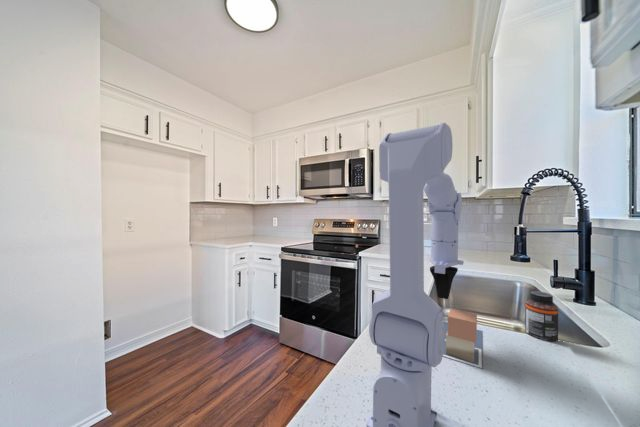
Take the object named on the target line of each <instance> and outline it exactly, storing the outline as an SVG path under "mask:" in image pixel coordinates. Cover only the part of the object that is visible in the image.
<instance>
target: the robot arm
mask: <svg viewBox="0 0 640 427" xmlns="http://www.w3.org/2000/svg"><path fill="white" fill-rule="evenodd" d="M453 145H454V144H453V134H452V128H451V127H450V125H449V124H447V123H446V122H441V123H439V124H435V125H431V126H430V125H429V126H424V127H420V128H415V129H408V130H405V131H399V132H394V133H391V132H389V133H386V134H385V135H384V136H383V138H382V140H380V142H379V145H378V146H379V147H378V155H379V156H378V160H379V162H378V164H379V165H378V166H379V167H378V168H379V178H380V180H381V181H384V182H386V183H387V184H388V228H389V230H388V231H389V232H388V234H389V235H388V236H389V238H388V240H389V243H388V244H389V246H388V247H389V289H387V290H385V291H384V292H382V293H380V294H378V295H377V296H376V297H375V299H374V300H373V302H372V304H371V315H370V319H369V325H368V334H369V338H370V340H371V343H372V344H373V345H374V346H376V354H378V355H379V356H380V370H379V374H378V375H377V378H376V380H375V382H374V384H373V389H372V390H373V393H372V394H373V395H372V402H373V403H372V412H371V413H370V415H369V417H368V418H367V421H366V423H365V424H366V427H434V426H435V421H436V417H437V412H436V411H434V410H432V372H433V371H432V368H436V367H437V366H438V365H441V362H442V360H443V358H444V357H443V352H444V345H445V328H444V325H443V322H444V314H443V312H442V307H441V306H440V305H439V304H438V303H437V302H436V301H435V300H433V299H432V297H430V296H429V295H428V294H427V293H426V292H425V288H424V287H425V284H424V283H425V273H424V272H425V270H424V269H425V266H424V265H425V264H424V262H425V261H424V260H425V259H424V258H425V257H424V255H425V254H424V253H425V252H424V251H425V250H424V249H425V248H424V247H425V246H424V245H425V244H424V242H425V240H424V238H425V236H424V228H425V227H424V224H425V223H424V222H425V221H424V218H425V217H424V216H425V215H424V214H425V213H424V206H425V205H424V194H425V195H426V197H427V204H428V205H427V206H428V211H429V214H430V215H431V231H430V232H431V234H430V235H431V236H430V241H431V242H430V247H431V248H430V258H429V262H430V263H431V264H432V266H430V267H429V271H430V273H431V276H432V277H433V281H434V284H435V290H436V294H437V298H440V299H445V300H449V297H450V295H451V289H452V284H453V280H454V278H455V276H456V274H457V273H458V271H459V270H458V269H459V268H458V267H455V266H457V265H459V266H460V265H461V266H462V265H464V264H465V263H464V260H462V259H458V258H459V256H458V254H459V223H460V222H461V213H462V207H463V205H462V204H463V200H462V199H463V198H462V194H461V192H457V191H458V190H456V187H455V185H454V182H453V178H452V177H451V176H450V175H449V174H447V173H445V170H446V168H447V167H448V165H449V164H450V162H451V161H452V158H453V148H454V147H453Z"/></svg>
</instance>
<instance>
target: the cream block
mask: <svg viewBox="0 0 640 427" xmlns="http://www.w3.org/2000/svg"><path fill="white" fill-rule="evenodd" d="M474 351H475V343H474V342H471V341H467V340H463V339H460V338H456V337H452V336H448V330H447V334H446V354H448V355H451V356H455V357H458V358H461V359H464V360H468V361H471V362H474Z"/></svg>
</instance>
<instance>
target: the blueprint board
mask: <svg viewBox="0 0 640 427" xmlns="http://www.w3.org/2000/svg"><path fill="white" fill-rule="evenodd" d="M443 325H444V328H445V345H444V352H443V357H442V358H446V359H448V360H451V361H454V362H458V363H460V364H464V365H467V366H471V367H474V368H477V369H480V370H484V349H483V348H484V346H483V345H484V344H483V343H484V341H483V337H484V336H483V335H484V334H483V330H481V329H480V330H479V329H477V334H476V343H475V351H474V362H471V361H468V360H464V359H461V358H458V357H455V356H451V355H448V354H446V334H447V330H448V321H447V322H446V321H443Z"/></svg>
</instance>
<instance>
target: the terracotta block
mask: <svg viewBox="0 0 640 427" xmlns="http://www.w3.org/2000/svg"><path fill="white" fill-rule="evenodd" d="M447 323H448V336H452V337H456V338H460V339H463V340H467V341H471V342H474V343H476V334H477V330H478V329H477V328H478V326H477V325H478V313H473V312H469V311H465V310H460V309H454V308H450V309H449V313H448V315H447Z"/></svg>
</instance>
